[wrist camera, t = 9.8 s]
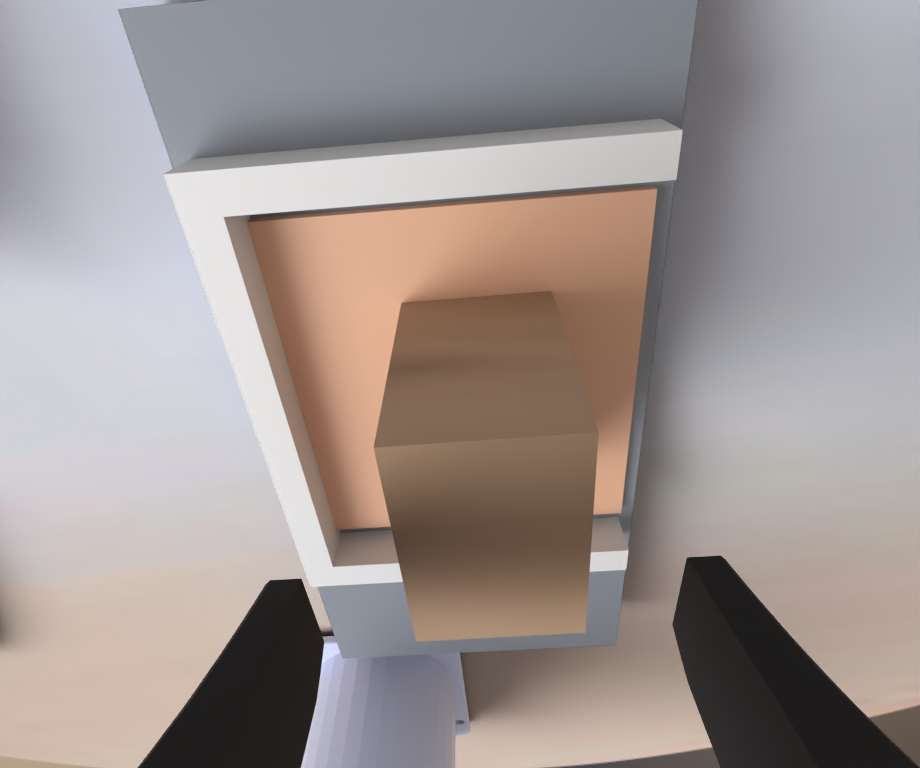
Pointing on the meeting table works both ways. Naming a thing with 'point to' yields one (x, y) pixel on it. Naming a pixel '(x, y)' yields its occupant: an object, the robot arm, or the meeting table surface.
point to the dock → (418, 233)
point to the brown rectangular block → (488, 468)
